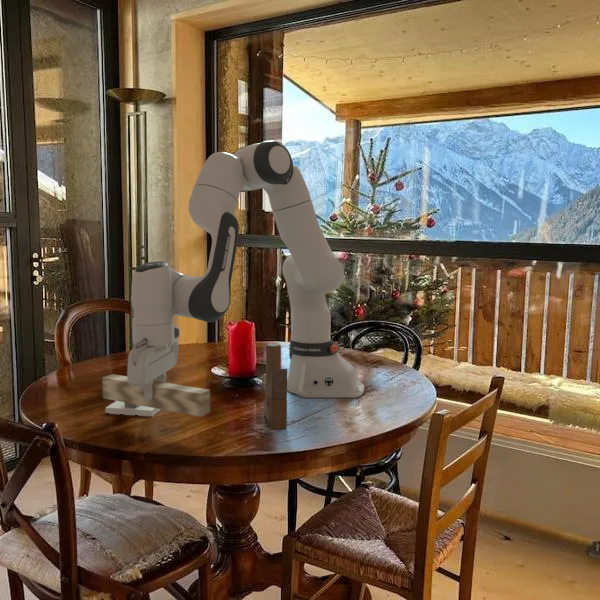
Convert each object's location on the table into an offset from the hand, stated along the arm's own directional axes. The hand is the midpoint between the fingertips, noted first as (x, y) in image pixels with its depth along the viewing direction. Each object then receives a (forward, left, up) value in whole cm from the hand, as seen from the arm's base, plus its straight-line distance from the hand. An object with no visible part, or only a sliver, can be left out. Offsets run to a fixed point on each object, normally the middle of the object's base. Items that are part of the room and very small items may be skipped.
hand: (154, 395), depth 135 cm
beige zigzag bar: (0, 0, -2) cm, 2 cm away
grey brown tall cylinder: (+20, -40, -8) cm, 45 cm away
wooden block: (-26, -10, -8) cm, 29 cm away
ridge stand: (+10, -17, -8) cm, 21 cm away
